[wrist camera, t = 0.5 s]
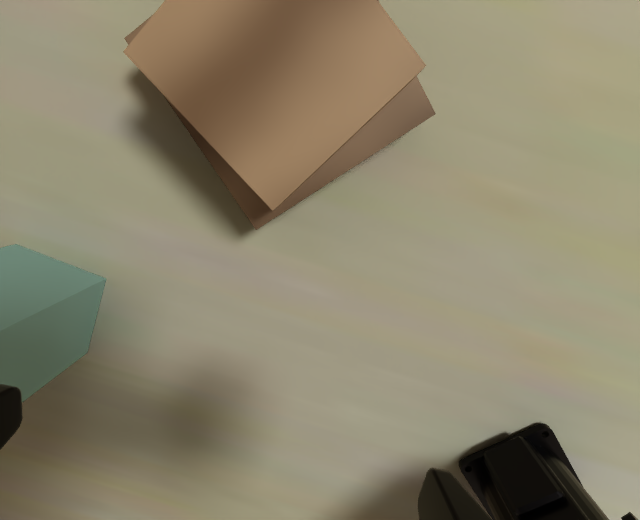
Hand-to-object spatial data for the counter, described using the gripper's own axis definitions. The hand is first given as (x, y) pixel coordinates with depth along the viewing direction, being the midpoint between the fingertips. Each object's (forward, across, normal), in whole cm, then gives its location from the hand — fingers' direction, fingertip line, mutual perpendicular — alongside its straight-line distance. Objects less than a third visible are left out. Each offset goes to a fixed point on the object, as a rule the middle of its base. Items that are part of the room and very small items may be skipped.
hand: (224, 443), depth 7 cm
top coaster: (+10, +2, -10) cm, 14 cm away
